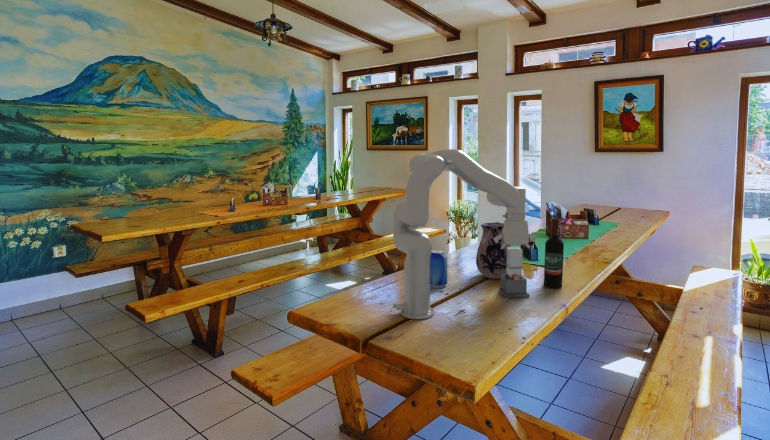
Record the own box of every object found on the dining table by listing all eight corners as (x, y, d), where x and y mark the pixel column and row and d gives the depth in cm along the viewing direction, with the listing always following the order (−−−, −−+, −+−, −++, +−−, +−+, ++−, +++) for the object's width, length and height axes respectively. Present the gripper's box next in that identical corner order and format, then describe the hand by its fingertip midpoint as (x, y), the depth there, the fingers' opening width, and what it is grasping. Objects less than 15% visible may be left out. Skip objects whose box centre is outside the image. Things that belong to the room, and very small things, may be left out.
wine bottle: (564, 285, 203) (567, 218, 198) (557, 289, 197) (560, 221, 192) (548, 282, 208) (550, 216, 203) (540, 286, 203) (543, 219, 197)
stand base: (504, 298, 189) (505, 277, 187) (498, 290, 198) (498, 270, 197) (529, 297, 189) (529, 276, 187) (521, 289, 199) (522, 269, 197)
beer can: (450, 284, 208) (450, 249, 206) (442, 289, 201) (442, 254, 199) (433, 281, 213) (433, 248, 210) (425, 286, 206) (424, 252, 203)
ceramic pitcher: (476, 281, 212) (477, 228, 207) (475, 268, 232) (475, 220, 228) (515, 282, 209) (517, 228, 204) (511, 269, 229) (512, 220, 225)
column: (509, 292, 191) (510, 250, 188) (505, 288, 196) (506, 247, 193) (521, 292, 191) (522, 249, 188) (517, 288, 196) (518, 246, 193)
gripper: (496, 218, 184) (495, 260, 187) (539, 217, 184) (538, 259, 187) (492, 215, 192) (491, 255, 194) (533, 214, 192) (532, 254, 195)
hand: (514, 257), depth 191 cm, fingers open, 9 cm apart
